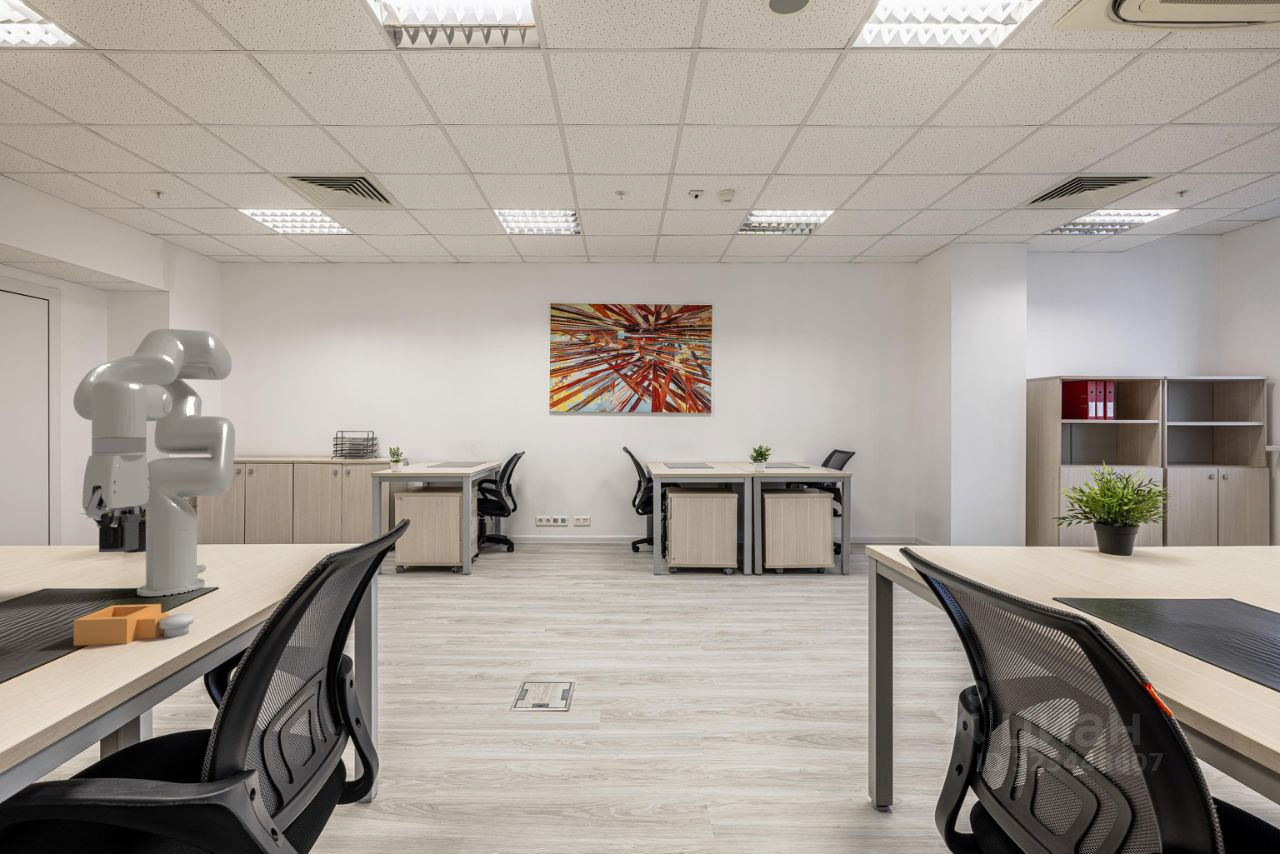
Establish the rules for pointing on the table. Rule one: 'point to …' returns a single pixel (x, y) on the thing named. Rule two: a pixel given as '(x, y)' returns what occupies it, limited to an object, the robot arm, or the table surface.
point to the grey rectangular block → (126, 533)
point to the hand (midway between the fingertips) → (118, 545)
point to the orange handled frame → (129, 625)
